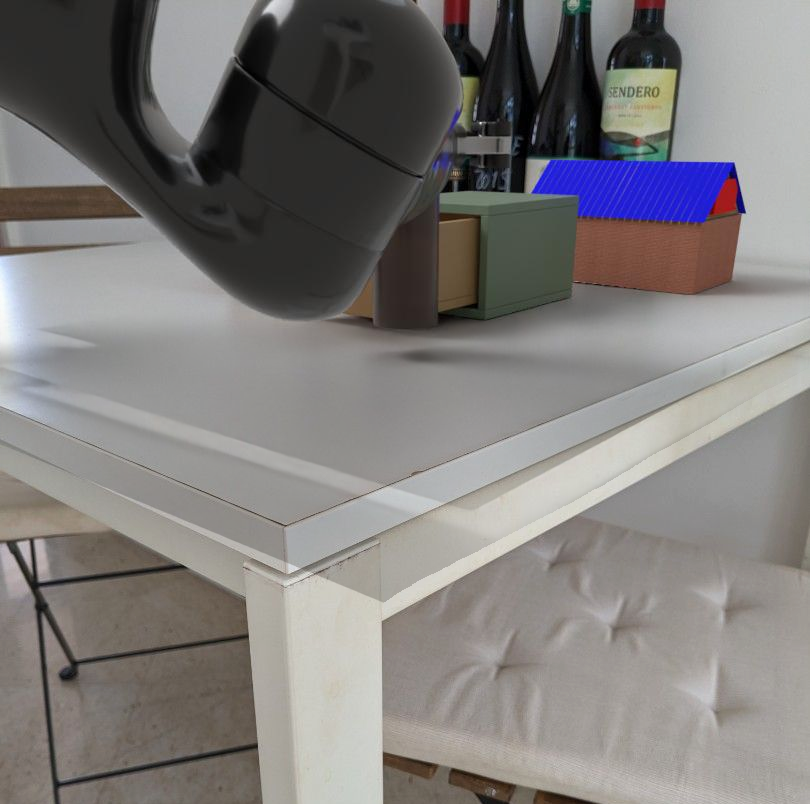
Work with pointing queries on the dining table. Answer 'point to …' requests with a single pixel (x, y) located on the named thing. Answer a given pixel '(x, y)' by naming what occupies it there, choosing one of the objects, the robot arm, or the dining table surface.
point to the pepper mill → (409, 275)
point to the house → (651, 221)
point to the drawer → (446, 265)
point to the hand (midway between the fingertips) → (409, 143)
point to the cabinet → (519, 249)
